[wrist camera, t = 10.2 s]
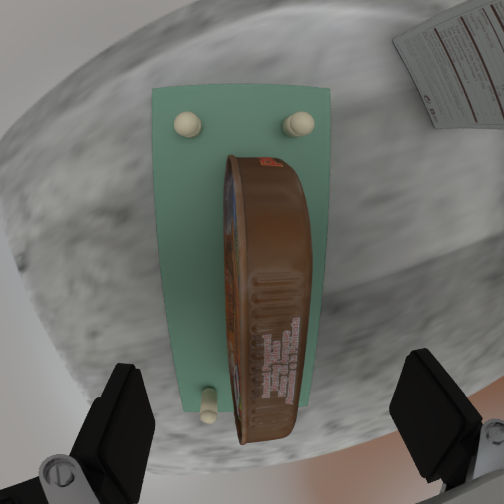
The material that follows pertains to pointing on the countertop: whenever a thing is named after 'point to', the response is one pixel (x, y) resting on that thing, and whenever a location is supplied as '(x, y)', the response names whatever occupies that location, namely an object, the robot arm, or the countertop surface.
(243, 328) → the tin
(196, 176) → the green peg board
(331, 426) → the countertop surface
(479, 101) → the supplement box
